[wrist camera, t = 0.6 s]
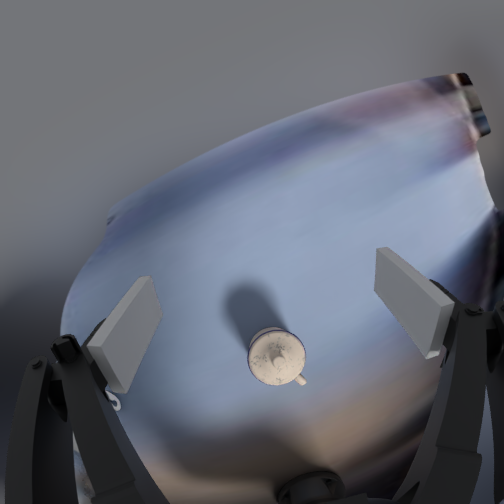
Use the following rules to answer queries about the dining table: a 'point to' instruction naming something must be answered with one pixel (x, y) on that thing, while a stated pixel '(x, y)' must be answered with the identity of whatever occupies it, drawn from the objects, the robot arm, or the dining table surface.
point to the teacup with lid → (276, 357)
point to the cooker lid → (82, 481)
